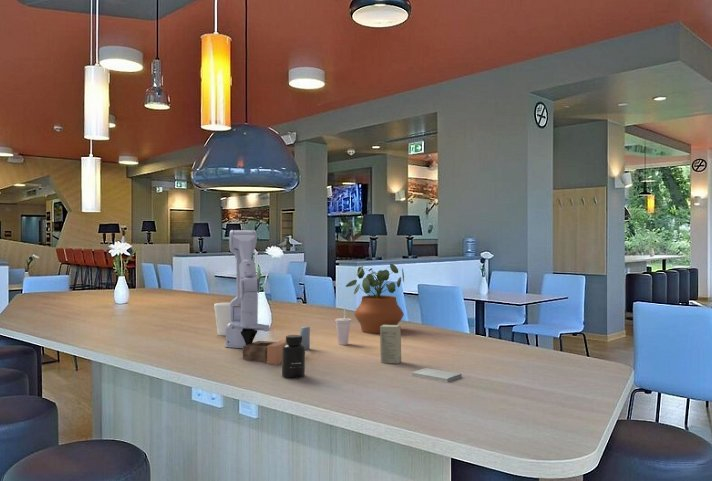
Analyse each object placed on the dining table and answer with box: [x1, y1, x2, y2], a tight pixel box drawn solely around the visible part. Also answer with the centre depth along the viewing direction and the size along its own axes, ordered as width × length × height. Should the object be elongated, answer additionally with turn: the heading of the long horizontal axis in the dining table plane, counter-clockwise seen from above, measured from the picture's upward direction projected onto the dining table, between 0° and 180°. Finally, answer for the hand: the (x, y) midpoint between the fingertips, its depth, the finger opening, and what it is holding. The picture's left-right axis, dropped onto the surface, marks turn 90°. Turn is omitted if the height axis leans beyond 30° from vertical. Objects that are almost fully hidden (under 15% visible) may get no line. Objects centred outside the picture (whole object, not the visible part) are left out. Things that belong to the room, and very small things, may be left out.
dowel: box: [299, 326, 311, 351], centre depth 211 cm, size 4×4×8 cm
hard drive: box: [411, 367, 462, 383], centre depth 170 cm, size 2×8×12 cm
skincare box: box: [379, 324, 402, 364], centre depth 189 cm, size 6×4×12 cm
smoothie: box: [334, 307, 352, 346], centre depth 221 cm, size 6×6×14 cm
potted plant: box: [345, 263, 405, 334], centre depth 256 cm, size 23×28×30 cm
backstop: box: [266, 338, 287, 366], centre depth 193 cm, size 3×18×6 cm, turn 161°
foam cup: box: [213, 302, 238, 337], centre depth 243 cm, size 10×9×13 cm
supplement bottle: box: [281, 334, 306, 380], centre depth 169 cm, size 7×7×12 cm
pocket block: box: [242, 340, 277, 362], centre depth 195 cm, size 11×11×4 cm
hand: (249, 350), depth 197 cm, fingers closed
